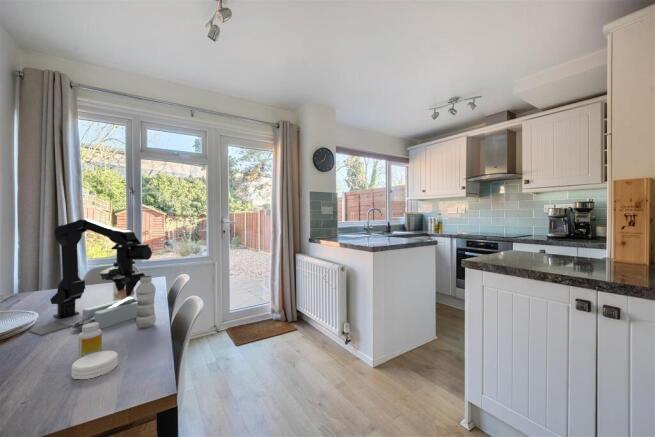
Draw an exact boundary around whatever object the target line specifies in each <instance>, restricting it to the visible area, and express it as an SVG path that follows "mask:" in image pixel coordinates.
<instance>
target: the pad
mask: <svg viewBox="0 0 655 437" xmlns="http://www.w3.org/2000/svg"><path fill="white" fill-rule="evenodd" d="M72 326H73V325H72V324H68V323H66V322H62V321H59V322H58V321H57V322H54V323H51V324H48V325H47V324H46V325H45V326H41V327H37V328H33V329H29V330H28V332H30V333H32V334H35V335H38V336H41V337H42V336H45V335H48V334H51V333H52V334H53V333H55V332H59V331H61V330H62V331H63V330H65V329H68V328H72Z"/></svg>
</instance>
